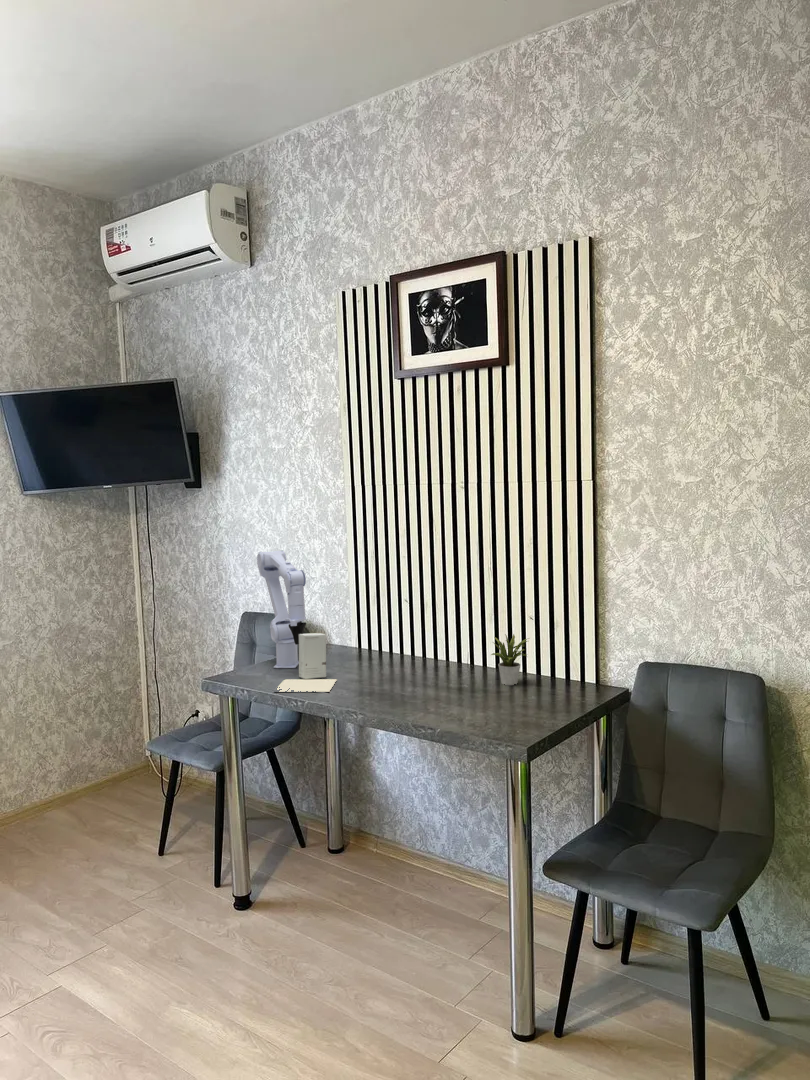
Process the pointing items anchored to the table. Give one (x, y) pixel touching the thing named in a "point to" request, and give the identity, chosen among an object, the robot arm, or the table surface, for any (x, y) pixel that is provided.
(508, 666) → the house plant
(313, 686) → the mat
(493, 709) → the table surface
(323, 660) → the skincare box
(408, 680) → the table surface
